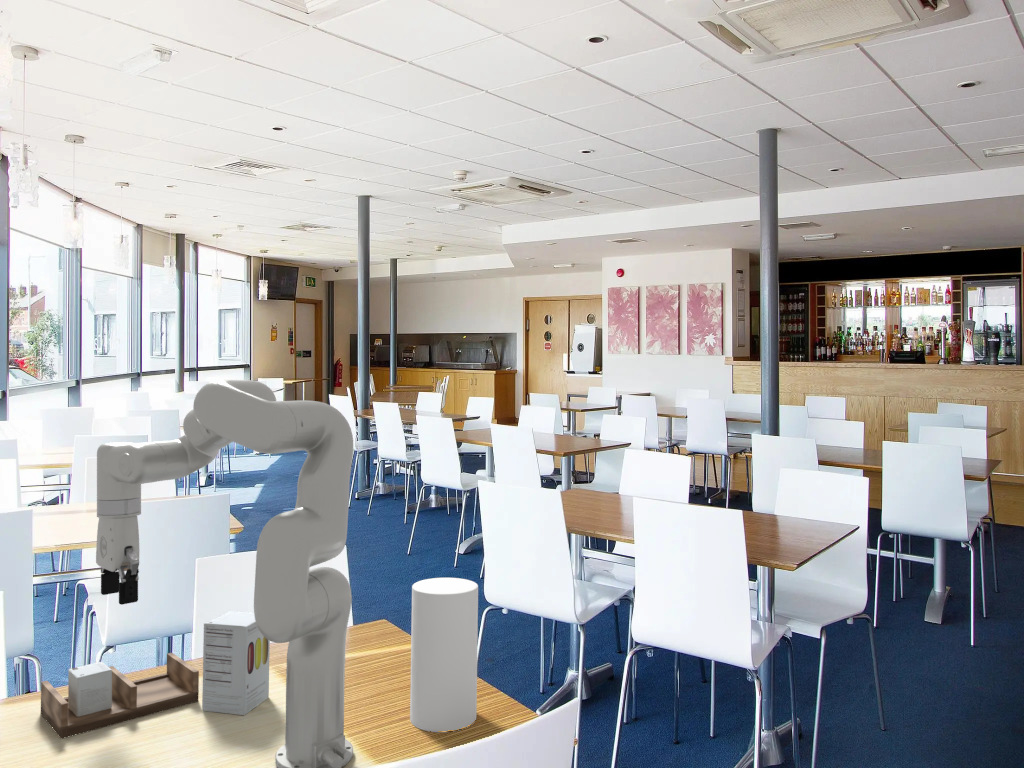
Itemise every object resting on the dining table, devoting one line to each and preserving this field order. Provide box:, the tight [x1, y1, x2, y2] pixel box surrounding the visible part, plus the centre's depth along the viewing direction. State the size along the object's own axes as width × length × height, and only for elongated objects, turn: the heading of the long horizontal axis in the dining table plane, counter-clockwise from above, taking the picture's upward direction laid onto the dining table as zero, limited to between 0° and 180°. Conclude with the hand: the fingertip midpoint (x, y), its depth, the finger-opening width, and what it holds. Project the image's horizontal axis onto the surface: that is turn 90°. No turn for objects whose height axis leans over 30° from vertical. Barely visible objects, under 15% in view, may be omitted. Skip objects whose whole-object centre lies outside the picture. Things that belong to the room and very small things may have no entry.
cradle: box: [40, 652, 200, 739], centre depth 149 cm, size 14×24×6 cm, turn 134°
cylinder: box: [409, 577, 479, 733], centre depth 146 cm, size 12×12×25 cm
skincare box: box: [67, 661, 112, 717], centre depth 145 cm, size 6×6×7 cm
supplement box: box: [201, 610, 271, 716], centre depth 151 cm, size 10×9×17 cm
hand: (119, 598), depth 147 cm, fingers open, 9 cm apart
